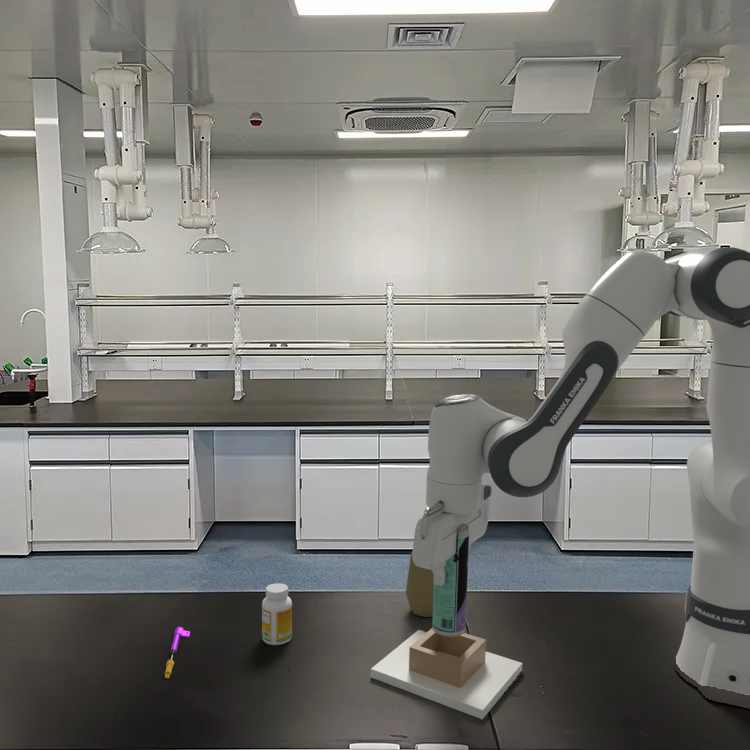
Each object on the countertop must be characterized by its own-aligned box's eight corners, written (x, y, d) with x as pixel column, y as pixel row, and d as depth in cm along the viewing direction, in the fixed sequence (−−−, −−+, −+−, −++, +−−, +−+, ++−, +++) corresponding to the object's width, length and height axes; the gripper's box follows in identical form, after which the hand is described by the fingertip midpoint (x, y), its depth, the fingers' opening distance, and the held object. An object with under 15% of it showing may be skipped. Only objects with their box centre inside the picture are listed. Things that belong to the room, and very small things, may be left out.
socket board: (521, 671, 120) (523, 640, 120) (482, 719, 107) (483, 685, 106) (418, 637, 131) (419, 609, 130) (370, 677, 118) (371, 645, 117)
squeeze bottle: (399, 605, 144) (401, 519, 142) (435, 599, 147) (438, 515, 144) (415, 623, 136) (417, 532, 134) (453, 617, 139) (456, 528, 137)
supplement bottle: (294, 632, 132) (295, 582, 131) (288, 647, 127) (288, 595, 126) (266, 630, 133) (266, 580, 131) (258, 644, 128) (258, 593, 126)
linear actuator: (175, 631, 132) (162, 680, 116) (176, 625, 132) (164, 673, 116) (189, 633, 132) (178, 682, 117) (191, 627, 132) (180, 676, 117)
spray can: (471, 634, 116) (475, 515, 114) (440, 639, 114) (444, 518, 112) (456, 618, 121) (460, 505, 119) (426, 623, 120) (430, 508, 117)
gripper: (440, 515, 105) (437, 605, 106) (496, 483, 122) (493, 561, 124) (403, 507, 108) (401, 594, 110) (463, 477, 125) (460, 553, 127)
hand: (450, 576), depth 117 cm, fingers closed on spray can, 5 cm apart
